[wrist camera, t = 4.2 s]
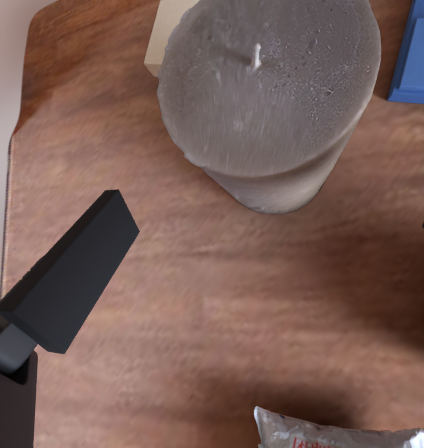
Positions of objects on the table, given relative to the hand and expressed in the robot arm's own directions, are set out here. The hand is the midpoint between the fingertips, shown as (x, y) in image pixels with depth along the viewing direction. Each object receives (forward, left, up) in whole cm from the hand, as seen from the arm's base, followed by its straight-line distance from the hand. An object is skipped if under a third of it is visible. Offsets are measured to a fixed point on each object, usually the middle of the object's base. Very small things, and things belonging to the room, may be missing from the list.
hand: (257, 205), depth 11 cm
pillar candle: (+1, -6, -13) cm, 14 cm away
